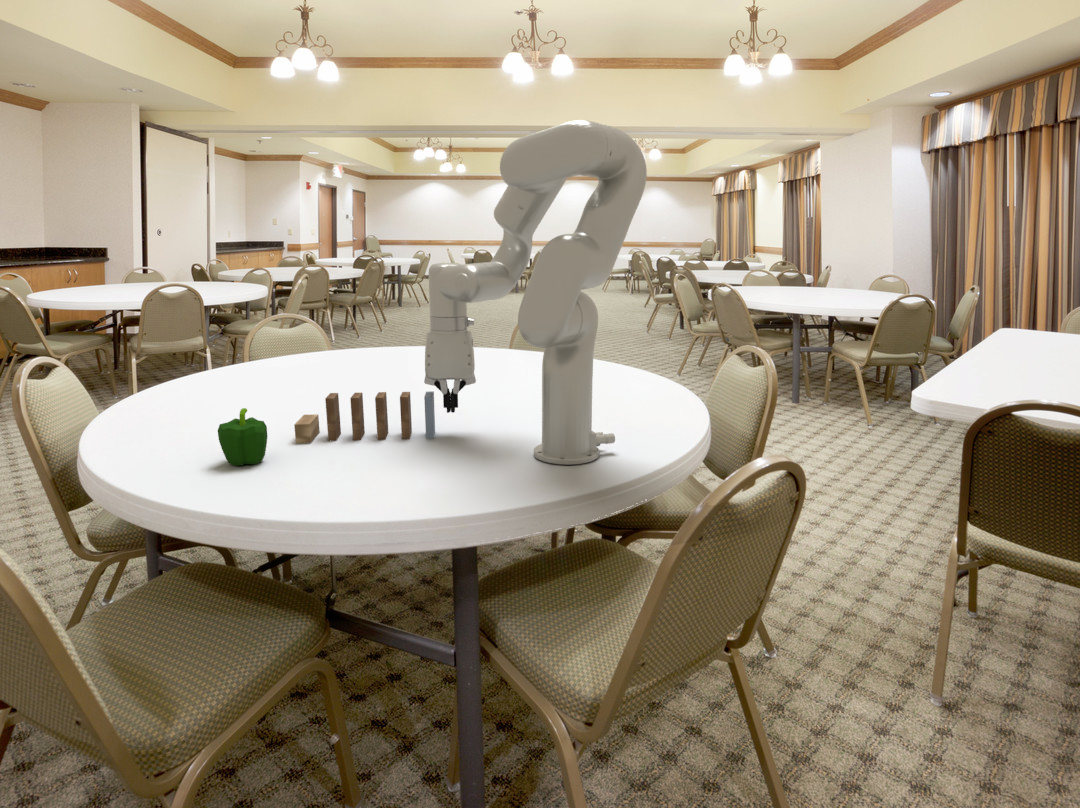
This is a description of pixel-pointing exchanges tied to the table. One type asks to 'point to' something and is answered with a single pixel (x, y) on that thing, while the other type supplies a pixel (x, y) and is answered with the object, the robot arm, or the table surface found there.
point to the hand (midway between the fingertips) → (451, 410)
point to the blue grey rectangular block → (429, 415)
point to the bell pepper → (243, 440)
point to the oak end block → (307, 428)
